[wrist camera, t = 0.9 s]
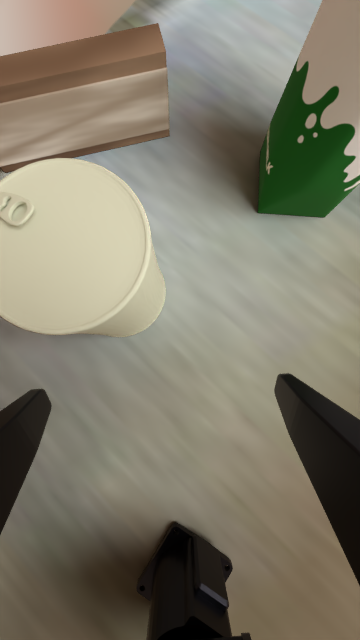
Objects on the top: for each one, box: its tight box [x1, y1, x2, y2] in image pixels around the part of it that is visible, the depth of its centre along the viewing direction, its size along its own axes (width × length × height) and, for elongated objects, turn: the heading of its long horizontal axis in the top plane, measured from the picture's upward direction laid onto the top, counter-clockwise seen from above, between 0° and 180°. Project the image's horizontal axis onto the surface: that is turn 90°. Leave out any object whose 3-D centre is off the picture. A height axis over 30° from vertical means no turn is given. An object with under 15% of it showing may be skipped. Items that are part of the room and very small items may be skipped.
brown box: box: [0, 23, 170, 173], centre depth 20 cm, size 3×18×7 cm, turn 104°
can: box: [0, 158, 166, 337], centre depth 16 cm, size 9×9×12 cm
